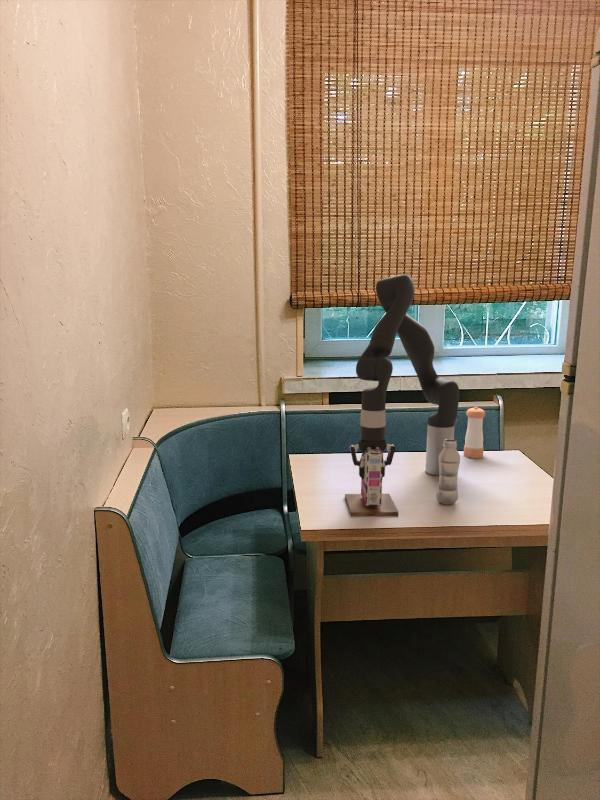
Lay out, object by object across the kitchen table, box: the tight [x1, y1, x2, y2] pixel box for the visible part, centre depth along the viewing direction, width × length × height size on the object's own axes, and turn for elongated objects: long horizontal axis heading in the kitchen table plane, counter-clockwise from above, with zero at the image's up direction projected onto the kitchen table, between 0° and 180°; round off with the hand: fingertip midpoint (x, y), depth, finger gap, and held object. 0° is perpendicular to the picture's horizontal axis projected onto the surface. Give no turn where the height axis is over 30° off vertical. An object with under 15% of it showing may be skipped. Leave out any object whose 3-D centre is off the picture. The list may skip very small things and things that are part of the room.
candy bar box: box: [360, 449, 384, 506], centre depth 211 cm, size 11×5×16 cm, turn 3°
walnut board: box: [344, 493, 399, 517], centre depth 213 cm, size 14×16×1 cm
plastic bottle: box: [435, 439, 461, 505], centre depth 214 cm, size 6×7×20 cm
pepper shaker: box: [463, 406, 486, 459], centre depth 265 cm, size 7×7×19 cm
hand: (371, 477), depth 211 cm, fingers closed on candy bar box, 5 cm apart
